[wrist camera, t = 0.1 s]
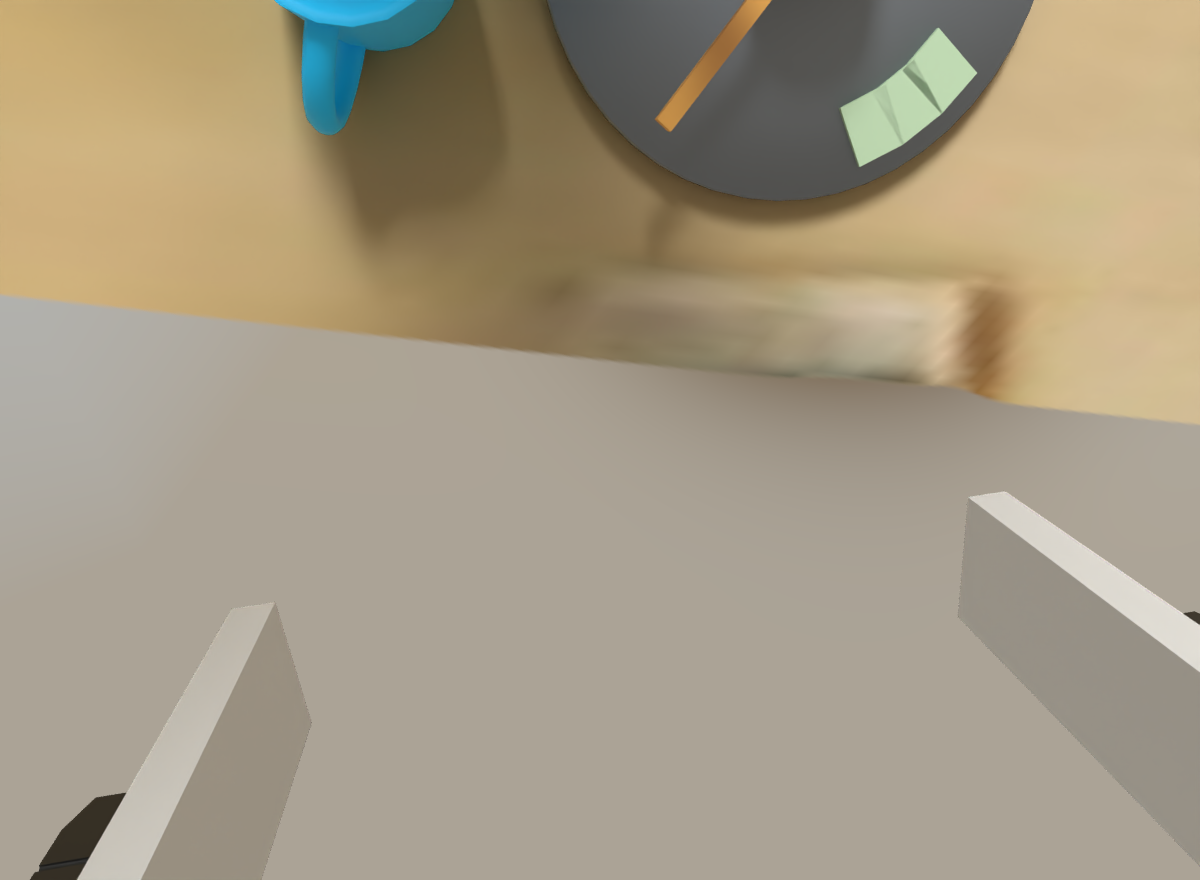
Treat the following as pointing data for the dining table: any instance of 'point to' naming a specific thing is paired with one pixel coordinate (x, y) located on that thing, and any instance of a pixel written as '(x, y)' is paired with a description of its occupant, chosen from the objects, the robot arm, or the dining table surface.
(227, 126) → the dining table surface
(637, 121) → the dial plate
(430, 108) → the dining table surface
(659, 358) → the dining table surface
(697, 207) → the dining table surface
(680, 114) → the dial arm
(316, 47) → the mug
